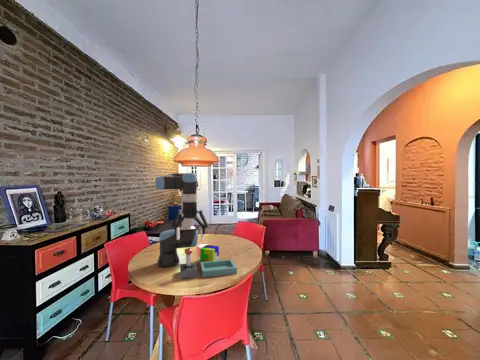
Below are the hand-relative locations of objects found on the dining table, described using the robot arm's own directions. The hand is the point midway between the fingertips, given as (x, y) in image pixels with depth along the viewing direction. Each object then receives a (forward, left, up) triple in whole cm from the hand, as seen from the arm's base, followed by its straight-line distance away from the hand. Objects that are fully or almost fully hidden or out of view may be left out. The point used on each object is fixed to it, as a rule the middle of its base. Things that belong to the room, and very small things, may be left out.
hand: (190, 239), depth 129 cm
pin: (-20, 0, -27) cm, 34 cm away
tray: (-21, +19, -27) cm, 39 cm away
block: (-20, 0, -27) cm, 34 cm away
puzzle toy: (-40, +16, -28) cm, 51 cm away
